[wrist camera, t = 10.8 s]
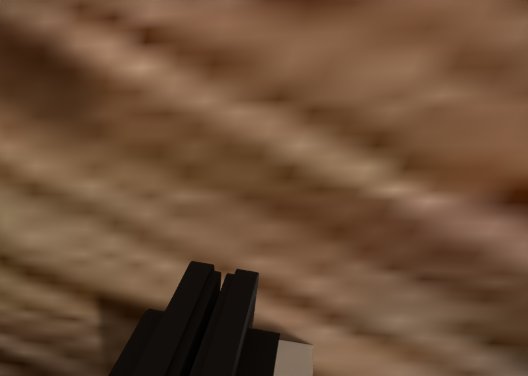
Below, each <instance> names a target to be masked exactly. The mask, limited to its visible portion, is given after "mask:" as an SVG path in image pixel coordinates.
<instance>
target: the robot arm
mask: <svg viewBox="0 0 528 376" xmlns="http://www.w3.org/2000/svg"><path fill="white" fill-rule="evenodd" d="M258 277H259V273H258V272H252V271H246V270H241V269H237V270H236V272H235V274H229V273H227V275H226V277H225V280H224V283H223V285H222V288H221V291H220V287H221V272H218V271H214V265H212V264H207V263H201V262H195V261H191V262H190V264H189V266H188V268H187V270H186V271H185V273H184V275H183V277H182V279H181V281H180V283H179V285H178V287H177V289H176V291H175V293H174V295H173V297H172V299H171V301H170V303H169V305H168V306H167V308H166V310H165V312H162V311H157V310H152V309H149V310H147V311H146V312H145V314H144V315H143V317H142V318H141V320H140V322H139V324H138V325H137V327H136V329H135V331H134V332H133V334H132V336H131V338H130V339H129V341H128V343H127V345H126V346H125V348H124V350H123V351H122V353H121V355H120V357H119V358H118V360H117V362H116V364H115V365H114V367H113V369H112V371H111V372H110V374H109V376H274V369H275V363H276V356H277V350H278V343H279V337H280V334H279V333H274V332H269V331H263V330H258V329H253V328H252V327H253V319H254V311H255V302H256V294H257V286H258Z"/></svg>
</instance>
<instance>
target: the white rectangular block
mask: <svg viewBox="0 0 528 376" xmlns="http://www.w3.org/2000/svg"><path fill="white" fill-rule="evenodd" d="M274 376H313V345H308V344H302V343H296V342H289V341H283V340H279V343H278V350H277V356H276V363H275V369H274Z"/></svg>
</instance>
